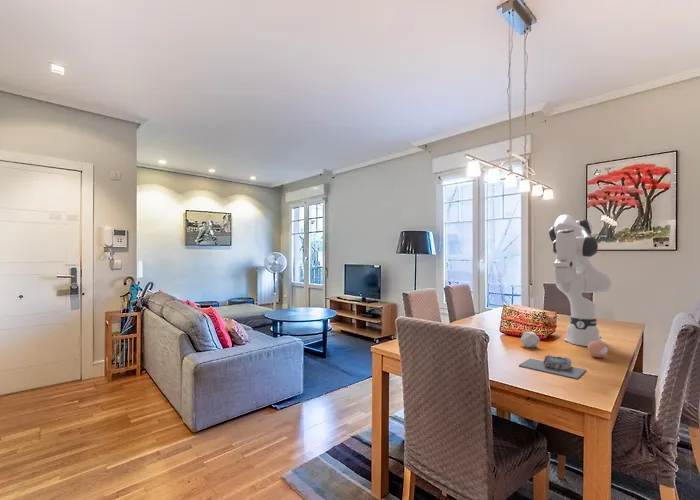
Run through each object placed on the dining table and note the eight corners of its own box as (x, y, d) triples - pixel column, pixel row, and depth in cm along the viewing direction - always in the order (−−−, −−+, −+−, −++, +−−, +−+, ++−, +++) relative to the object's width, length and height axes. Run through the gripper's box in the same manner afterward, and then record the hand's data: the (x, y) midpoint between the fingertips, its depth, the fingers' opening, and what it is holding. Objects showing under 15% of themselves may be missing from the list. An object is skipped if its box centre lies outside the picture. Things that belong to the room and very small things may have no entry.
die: (538, 351, 175) (544, 334, 178) (522, 342, 176) (529, 326, 180) (530, 352, 182) (536, 336, 186) (515, 344, 184) (521, 328, 187)
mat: (530, 359, 159) (530, 358, 159) (586, 370, 143) (586, 369, 143) (518, 366, 149) (518, 365, 149) (577, 379, 133) (577, 378, 133)
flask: (571, 358, 149) (570, 365, 139) (571, 365, 149) (570, 373, 139) (545, 354, 154) (542, 361, 145) (545, 361, 154) (542, 368, 145)
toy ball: (608, 360, 156) (608, 343, 157) (588, 358, 161) (587, 341, 161) (606, 356, 163) (606, 339, 163) (587, 354, 167) (586, 337, 168)
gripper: (565, 262, 173) (565, 289, 173) (552, 263, 159) (553, 292, 159) (579, 262, 169) (580, 290, 168) (568, 263, 155) (568, 294, 154)
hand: (567, 291), depth 164 cm, fingers closed
